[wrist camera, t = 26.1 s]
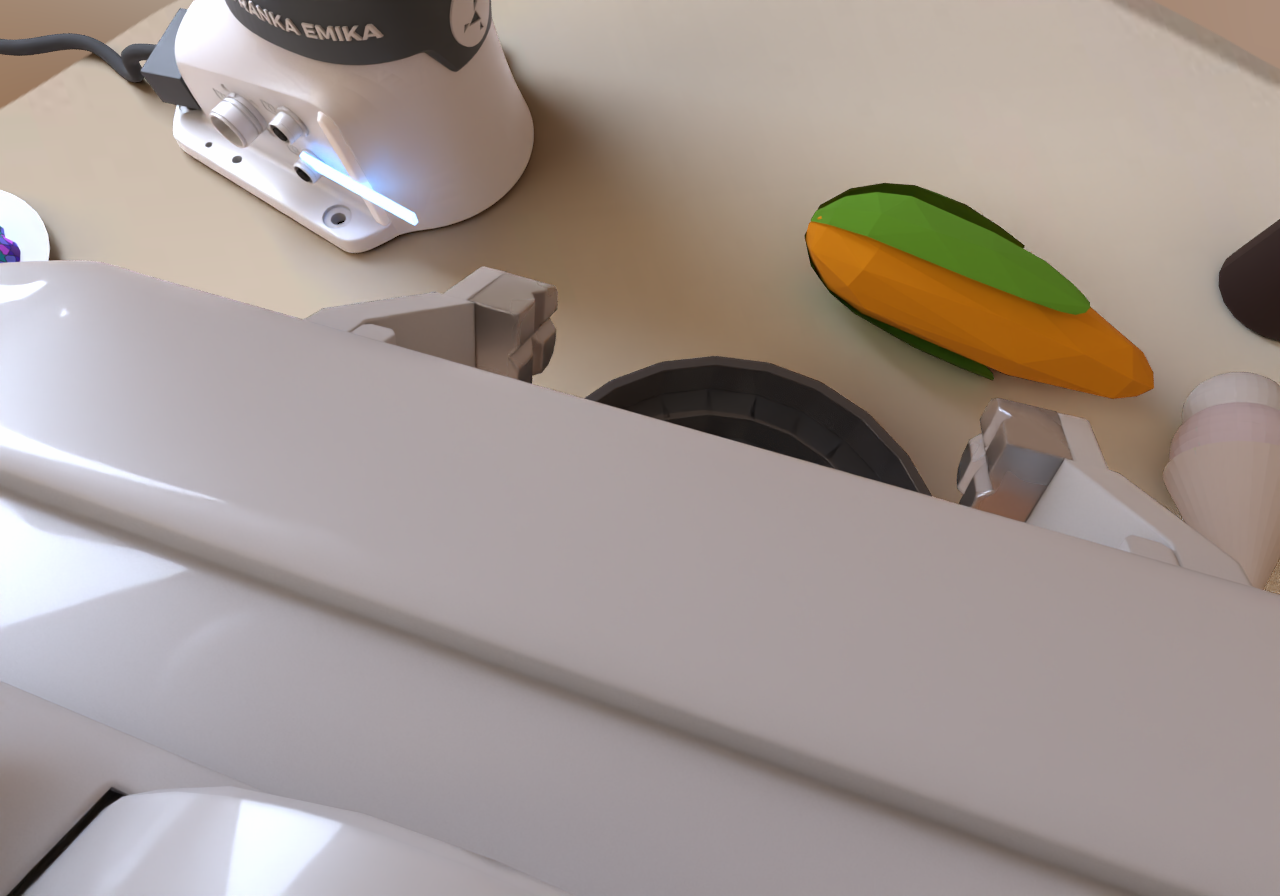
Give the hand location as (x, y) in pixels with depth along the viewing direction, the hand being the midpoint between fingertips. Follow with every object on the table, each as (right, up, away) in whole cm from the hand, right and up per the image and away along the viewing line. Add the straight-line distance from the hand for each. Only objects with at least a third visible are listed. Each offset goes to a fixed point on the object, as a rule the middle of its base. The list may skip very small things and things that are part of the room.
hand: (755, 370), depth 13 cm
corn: (+16, +6, +29) cm, 34 cm away
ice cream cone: (+28, -5, +25) cm, 38 cm away
